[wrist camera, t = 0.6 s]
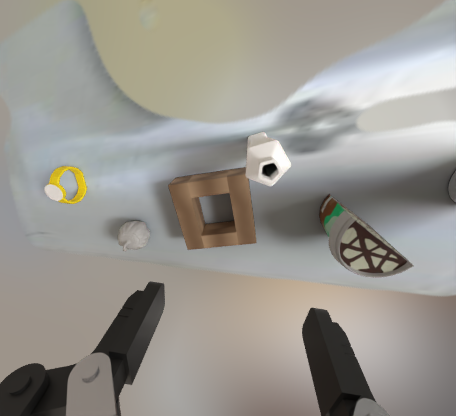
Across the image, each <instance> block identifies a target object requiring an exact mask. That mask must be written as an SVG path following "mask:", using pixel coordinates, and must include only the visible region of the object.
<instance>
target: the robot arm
mask: <svg viewBox="0 0 456 416" xmlns="http://www.w3.org/2000/svg"><path fill="white" fill-rule="evenodd" d="M448 190H449V195H450V197H451V199H452V200H453V201H454V202H456V171H455V173H454V174H453V176H452V178H451V180H450V182H449V187H448ZM164 305H165V296H164V284H163V283H157V282H149V283H148V284H147V286H146V288H145V290H144V291H139V290H137V291H136V292H135V293H134V294H132V295H131V296H130V297H129V298H128V299H127V301H126V302H125V304H124V306H123V307H122V309H121V310H120V312H119V313H118V315H117V317H116V318H115V319H114V321H113V323H112V324H111V326H110V327H109V329H108V330H107V332H106V334H105V335H104V336H103V338H102V340H101V341H100V343H99V344H98V346H97V347H96V349H95V350H94V351H93V352H92V353H91V354H90V355H88V356H86V357H85V358H83V359H82V360H81V361H79V362H78V363H77V364H74V365H70V366H66V367H60V368H55V369H50V370H45V368H44V366H43V365H41V364H38V363H34V364H28V365H25V366H23V367H21V368H19V369H17V370H15V371H14V372H12V373H11V374H10V375H8V376H7V377H6V378H5V379H4V380H3V381H2V382H1V384H0V416H121V410H120V402H119V395H120V393H121V390H122V388H123V386H124V384H130V385H132V383H133V381H134V379H135V376H136V374H137V372H138V369H139V367H140V364H141V362H142V360H143V358H144V355H145V353H146V350H147V348H148V346H149V343H150V341H151V339H152V337H153V334H154V332H155V329H156V327H157V325H158V323H159V320H160V318H161V315H162V313H163V310H164ZM302 336H303V341H304V345H305V349H306V354H307V358H308V362H309V366H310V370H311V374H312V379H313V383H314V387H315V391H316V395H317V400H318V404H319V408H320V412H321V416H390V415H389V414H388V413H387V411H386V410H385V409H384V408H383V407H381V406H380V405H379V404H378V403H377V402H376V401H375V399H374V397H373V395H372V393H371V391H370V389H369V386H368V384H367V381H366V379H365V377H364V374H363V372H362V370H361V368H360V365H359V363H358V361H357V359H356V357H355V354H354V352H353V349H352V347H351V345H350V343H349V340H348V338H347V336H346V333H345V332H344V331H343V330H342V328H341V327H340V326H339V324H338V323H335V322H332V320H331V318H330V315H329V313H328V312H327V310H323V309H316V308H311V309H310V310H309V313H308V316H307V317H306V320H305V322H304V324H303V328H302Z"/></svg>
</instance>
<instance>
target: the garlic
mask: <svg viewBox="0 0 456 416" xmlns="http://www.w3.org/2000/svg"><path fill="white" fill-rule="evenodd" d="M149 238H150V231H149V229H148V228H147V226H146V223H145V222H140V221H132V222H127V223H125V224H124V225H123V226H122V227H121V228H120V230H119V234H118V240H119V245H121V246H123V251H126V250H127V249H133V250H137V249H140V248H143V247H145V246H146V244H147V242H148V240H149ZM126 248H127V249H126Z"/></svg>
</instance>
